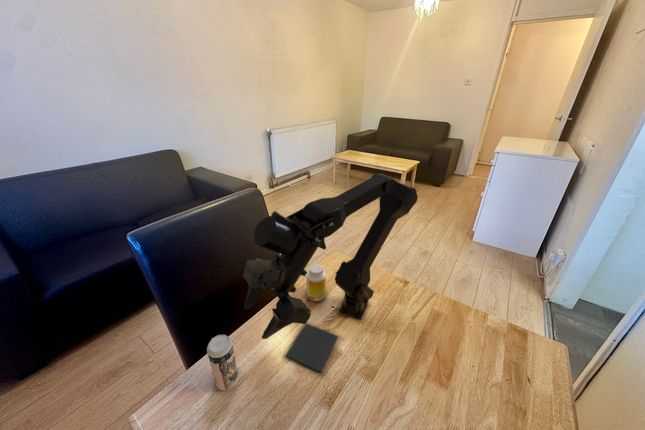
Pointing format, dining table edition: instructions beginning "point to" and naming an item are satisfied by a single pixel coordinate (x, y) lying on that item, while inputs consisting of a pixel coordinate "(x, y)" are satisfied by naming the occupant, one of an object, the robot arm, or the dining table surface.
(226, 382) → the beer can
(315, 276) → the supplement bottle
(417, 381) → the dining table surface
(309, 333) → the can mat
